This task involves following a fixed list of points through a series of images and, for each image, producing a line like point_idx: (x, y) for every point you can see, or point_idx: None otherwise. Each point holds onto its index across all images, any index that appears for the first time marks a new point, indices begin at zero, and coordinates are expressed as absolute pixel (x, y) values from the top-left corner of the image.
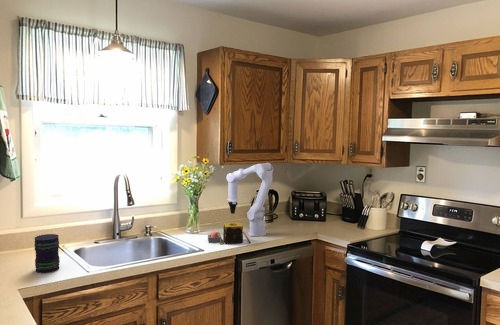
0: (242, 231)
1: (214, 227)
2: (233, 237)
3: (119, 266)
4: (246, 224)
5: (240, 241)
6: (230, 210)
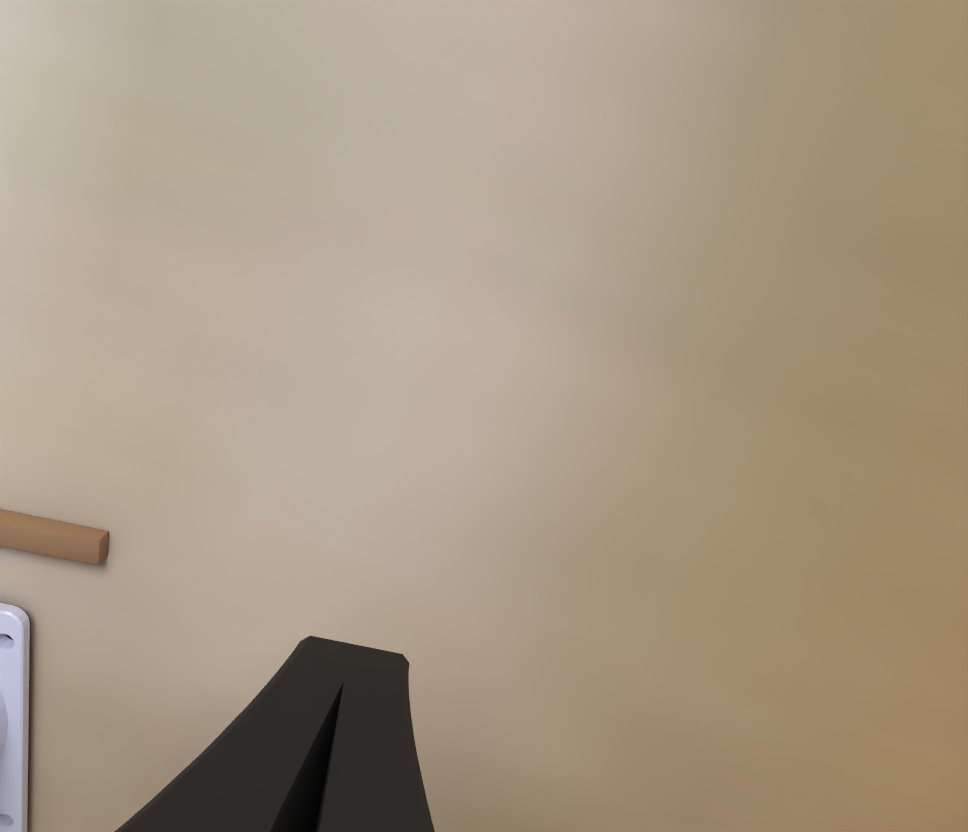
0: None
1: (867, 52)
2: None
3: None
4: (763, 829)
5: None
6: (317, 731)
